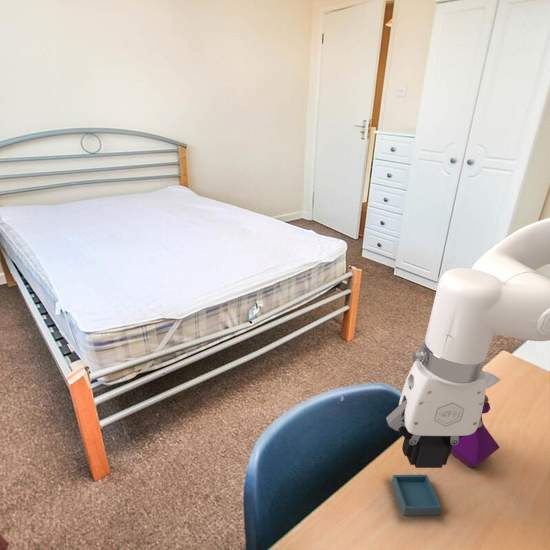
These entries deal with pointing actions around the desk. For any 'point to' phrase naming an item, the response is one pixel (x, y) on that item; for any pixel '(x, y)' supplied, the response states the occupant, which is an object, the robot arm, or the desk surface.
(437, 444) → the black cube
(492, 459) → the desk surface
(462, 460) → the perfume bottle
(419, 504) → the shallow rectangular tray
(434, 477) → the desk surface
